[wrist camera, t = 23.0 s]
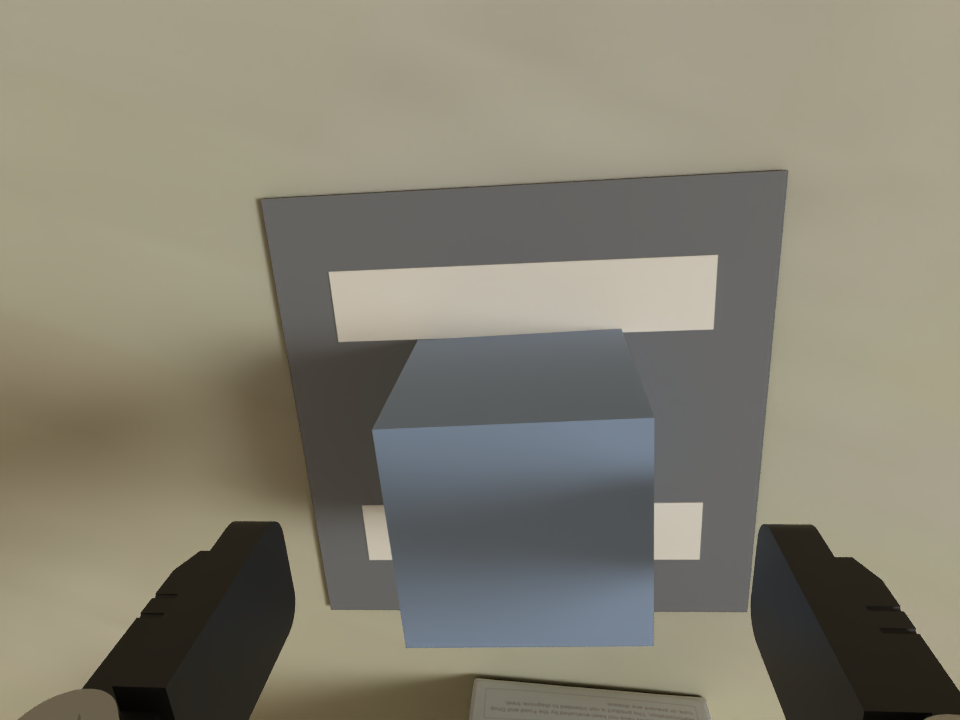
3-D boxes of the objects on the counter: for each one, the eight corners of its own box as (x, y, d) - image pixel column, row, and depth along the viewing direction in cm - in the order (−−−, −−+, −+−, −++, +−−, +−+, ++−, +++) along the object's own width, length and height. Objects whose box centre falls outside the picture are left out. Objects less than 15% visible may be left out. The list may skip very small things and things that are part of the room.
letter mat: (263, 198, 16) (259, 199, 16) (785, 169, 15) (788, 170, 15) (332, 605, 20) (330, 610, 20) (745, 608, 19) (747, 613, 19)
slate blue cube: (418, 339, 17) (372, 429, 12) (621, 328, 16) (654, 417, 12) (439, 512, 19) (406, 647, 14) (624, 506, 18) (653, 646, 13)
